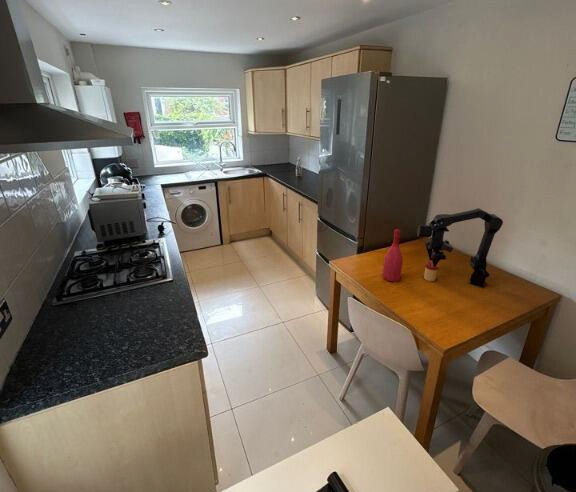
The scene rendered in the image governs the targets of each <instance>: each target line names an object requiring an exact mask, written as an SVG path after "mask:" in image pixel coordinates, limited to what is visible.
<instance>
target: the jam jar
mask: <svg viewBox="0 0 576 492" xmlns="http://www.w3.org/2000/svg"><path fill="white" fill-rule="evenodd" d="M424 267H425V266H424ZM438 270H439V268H438V269H437V270H430V269H428V268H426V267H425V268H424V274H423V279H424V280H426V281H428V282H435V281H436V280H437V275H438Z"/></svg>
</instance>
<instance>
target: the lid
mask: <svg viewBox="0 0 576 492" xmlns="http://www.w3.org/2000/svg"><path fill="white" fill-rule="evenodd" d="M424 267H426V268H428V269H430V270H437V269H438V270H439V268H440V267H439V263H438V264H437V265H436V267H433V263H432V261H426V262H425V265H424ZM438 270H437V271H438Z"/></svg>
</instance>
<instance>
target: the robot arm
mask: <svg viewBox="0 0 576 492" xmlns="http://www.w3.org/2000/svg"><path fill="white" fill-rule="evenodd" d="M474 219H481V220H482V221H484V223H483V224H484V232H483V235H482V237H481V240H480V243H479V247H478V249H477V252H476V254H475V255H471V256H470V260H469V261H468V263H469V266H470V267H471V268H472V270H473V271H472V273H471V275H470V279H469V281H470V282H469V284H470V285H474V286H476V287H479V288H480V287H481V288H484V287H485V284H486V280H487V278H489V277H490V276H491V274H490V273H489V272H488V270H487V265H488V263H487V262H488V261H487V257H488V254H489V252H490V249H491V246H492V243H493V240H494V238H495V235H496V234H497V233H498V232H499V231H500V229H501V228H502V226H503V225H504V220H503V219H502V218H501V217H499V216H498V215H496V214H494V213H489V212H487V211H485V210H483V209H481V208H479V207H477V208H475V209H469V210H466V211H461V212H457V213H451V214H448V213H441V214H436V215H435V216H434V217H433V219H432V220H431V221H430V222H429V223H428V224H419V225H418V227H417V229H416V235H417V237H418V238H429V240H426V241H425V244H424V246H425V248H426V249H425V250H426V252H427V255H428V259H429V262H432V263H433V267H436V265H437V264H438V265H439V262H440V261H441V260H444V261H445V260H446V259H447V255H446V253H444V252H443V251H446V252H448V253H452V251H453V250H454V246H453V245H452V244H451V243H450V241H449V240H448V239H445V240H444V238H445V232H446V233H449V232H450V230H449V228H448V227H449V226H452V225H453V224H456V223H459V222H465V221H470V220H474Z"/></svg>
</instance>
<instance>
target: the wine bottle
mask: <svg viewBox="0 0 576 492" xmlns="http://www.w3.org/2000/svg"><path fill="white" fill-rule="evenodd" d="M401 233H402V230H401V229H399V228H395V229H394V233H393V242H392V244H391V246H390V248H389V249H388V251H387V253H386V254H385V256H384V258H383V259H384V260H383V266H382V278H383V279H384V280H385V281H388V282H391V283H392V282H393V283H394V282H398V281H399V280H400V279H401V275H402V269H403V264H404V263H403V254H402V252H401V248H400V238H401Z"/></svg>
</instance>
